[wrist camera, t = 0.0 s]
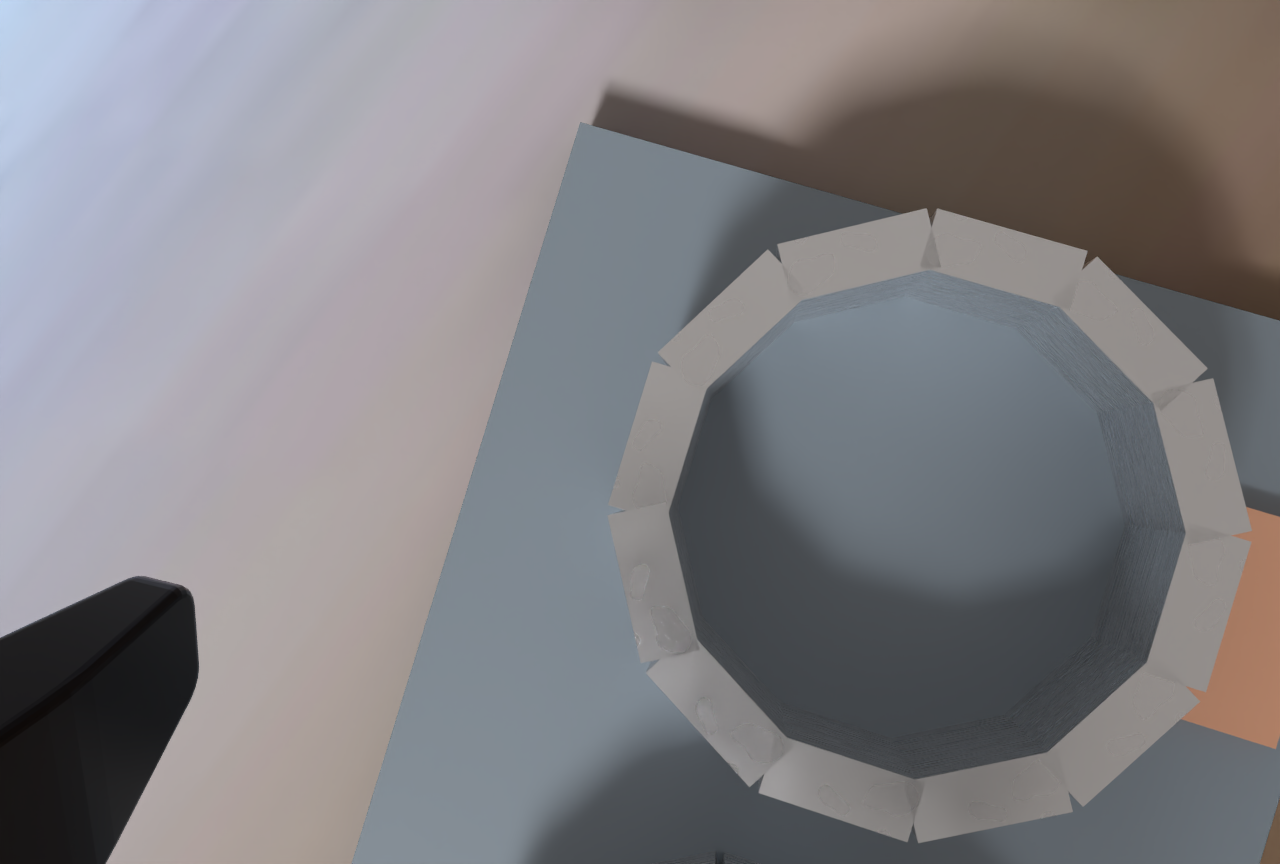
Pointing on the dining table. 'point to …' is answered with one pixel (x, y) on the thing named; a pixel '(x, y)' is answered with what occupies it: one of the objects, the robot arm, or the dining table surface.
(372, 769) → the dining table surface
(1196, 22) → the dining table surface
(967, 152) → the dining table surface
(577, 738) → the socket board
